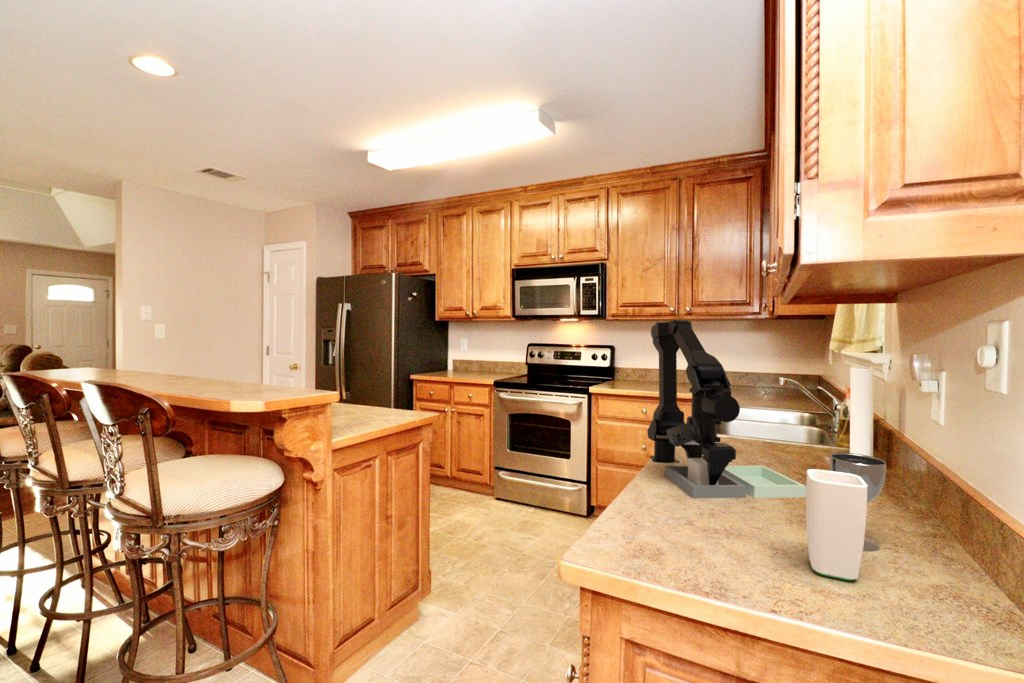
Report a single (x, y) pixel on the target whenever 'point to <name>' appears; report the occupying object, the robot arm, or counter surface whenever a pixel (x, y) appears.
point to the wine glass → (868, 470)
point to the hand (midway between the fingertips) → (702, 479)
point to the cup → (835, 522)
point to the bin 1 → (723, 490)
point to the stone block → (698, 471)
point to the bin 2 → (765, 482)
